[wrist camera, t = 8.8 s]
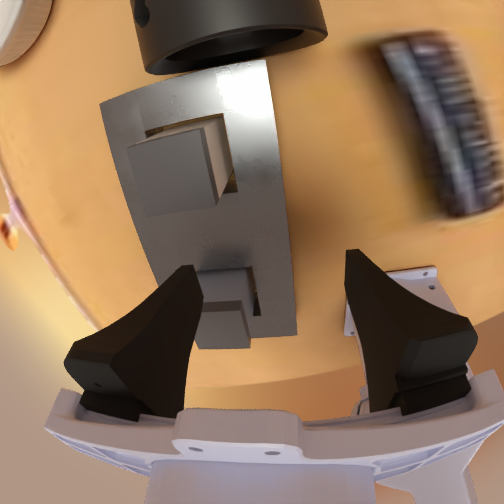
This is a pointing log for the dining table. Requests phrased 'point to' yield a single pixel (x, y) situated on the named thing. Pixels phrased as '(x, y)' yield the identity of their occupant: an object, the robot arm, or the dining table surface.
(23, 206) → the dining table surface
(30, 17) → the ramekin
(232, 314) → the twin plug
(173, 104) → the block
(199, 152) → the plug
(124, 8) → the dining table surface
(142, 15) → the muzzle brake
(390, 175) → the dining table surface
